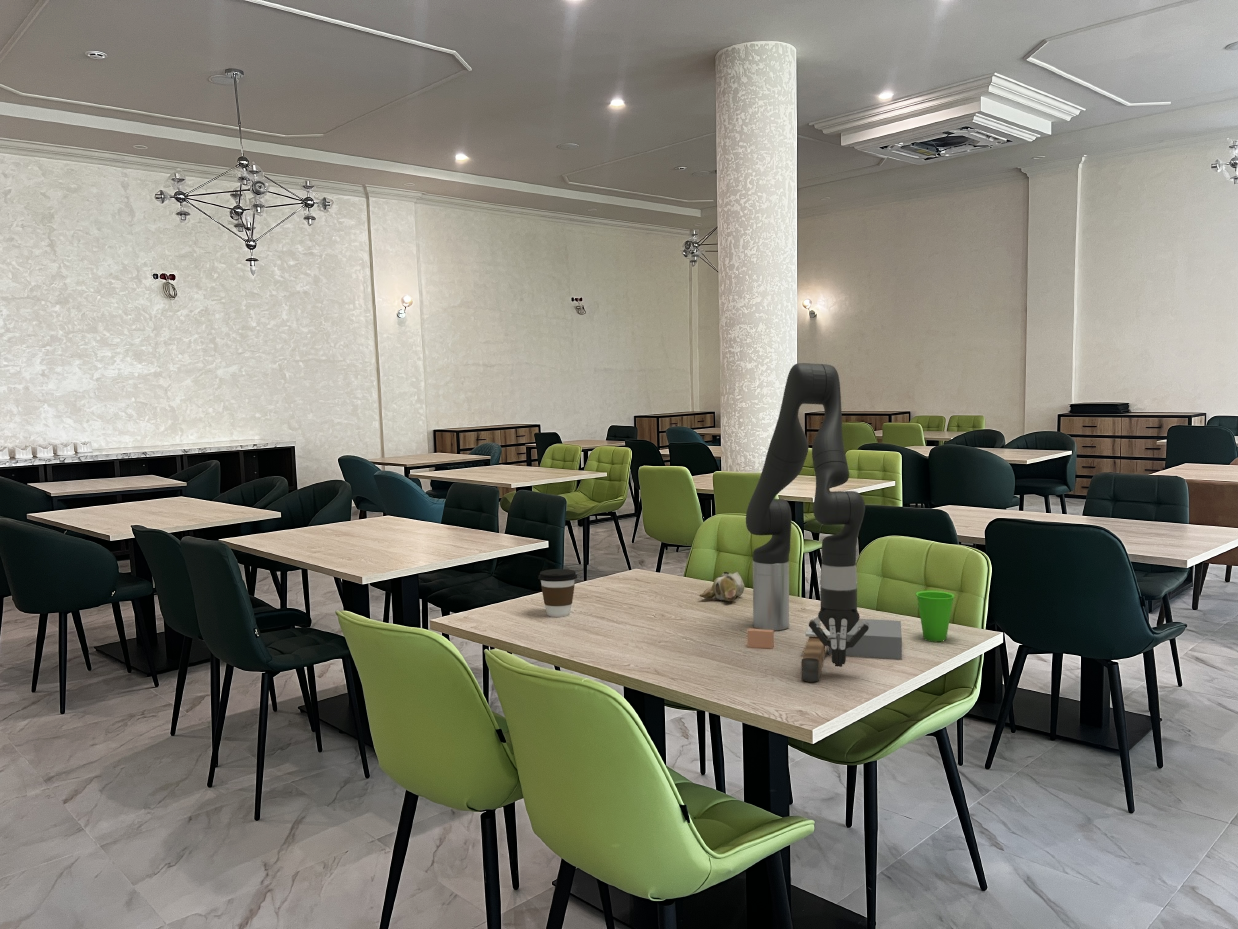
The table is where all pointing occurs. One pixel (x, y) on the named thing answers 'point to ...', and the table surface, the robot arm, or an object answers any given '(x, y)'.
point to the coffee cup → (558, 591)
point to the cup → (935, 613)
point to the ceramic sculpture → (725, 587)
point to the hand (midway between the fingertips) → (838, 665)
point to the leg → (812, 659)
